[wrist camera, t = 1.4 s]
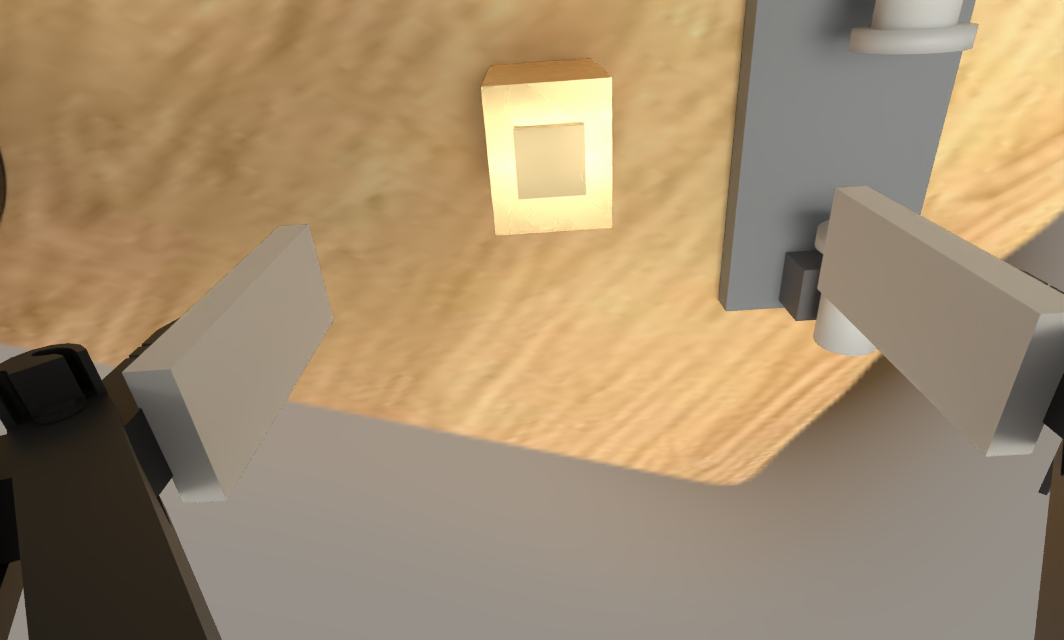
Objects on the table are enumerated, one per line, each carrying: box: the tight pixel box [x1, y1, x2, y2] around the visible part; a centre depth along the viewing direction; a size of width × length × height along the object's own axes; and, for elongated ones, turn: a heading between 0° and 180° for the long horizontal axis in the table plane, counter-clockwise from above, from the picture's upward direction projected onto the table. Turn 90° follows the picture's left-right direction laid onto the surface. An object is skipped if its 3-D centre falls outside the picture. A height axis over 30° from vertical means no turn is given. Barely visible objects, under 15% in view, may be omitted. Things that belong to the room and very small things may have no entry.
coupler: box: [481, 58, 612, 235], centre depth 27 cm, size 5×6×8 cm
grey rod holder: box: [718, 0, 979, 356], centre depth 28 cm, size 10×20×8 cm, turn 4°
